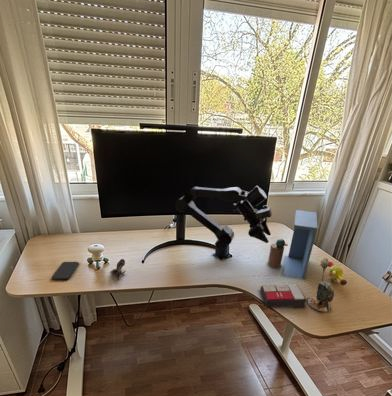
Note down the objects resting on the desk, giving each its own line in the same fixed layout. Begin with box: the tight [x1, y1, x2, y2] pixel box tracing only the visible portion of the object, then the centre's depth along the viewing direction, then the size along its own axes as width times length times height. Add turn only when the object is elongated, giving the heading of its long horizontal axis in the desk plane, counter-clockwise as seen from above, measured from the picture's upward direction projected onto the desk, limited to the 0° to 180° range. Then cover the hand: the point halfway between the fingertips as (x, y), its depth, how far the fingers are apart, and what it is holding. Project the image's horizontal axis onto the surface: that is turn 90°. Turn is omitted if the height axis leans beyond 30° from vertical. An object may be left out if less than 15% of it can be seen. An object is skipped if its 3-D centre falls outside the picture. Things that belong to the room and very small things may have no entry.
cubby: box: [283, 209, 319, 280], centre depth 133 cm, size 9×21×24 cm, turn 162°
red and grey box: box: [259, 283, 307, 309], centre depth 115 cm, size 11×4×15 cm
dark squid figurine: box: [109, 258, 126, 281], centre depth 127 cm, size 8×7×9 cm
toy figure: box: [327, 261, 348, 286], centre depth 128 cm, size 18×6×7 cm, turn 178°
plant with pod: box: [306, 257, 335, 313], centre depth 107 cm, size 8×11×20 cm
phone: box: [51, 261, 80, 281], centre depth 129 cm, size 7×1×15 cm
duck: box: [267, 238, 289, 268], centre depth 137 cm, size 7×6×14 cm
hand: (268, 238), depth 135 cm, fingers open, 9 cm apart
